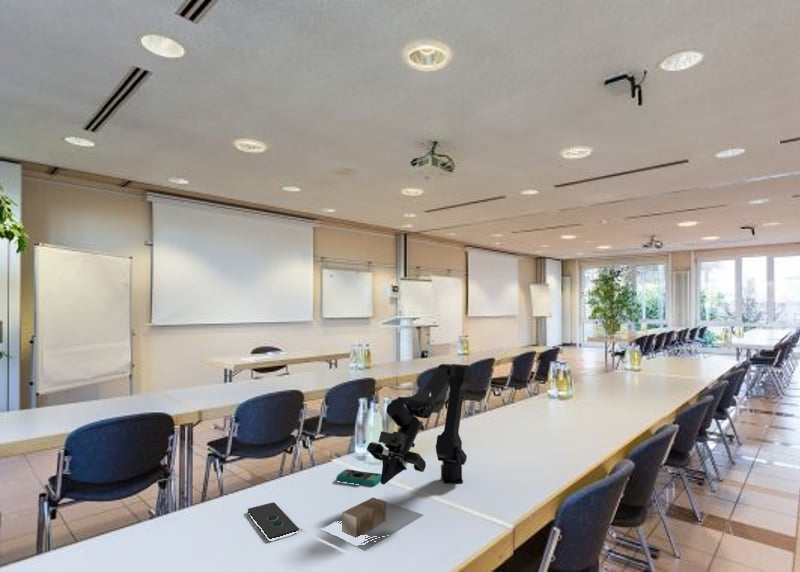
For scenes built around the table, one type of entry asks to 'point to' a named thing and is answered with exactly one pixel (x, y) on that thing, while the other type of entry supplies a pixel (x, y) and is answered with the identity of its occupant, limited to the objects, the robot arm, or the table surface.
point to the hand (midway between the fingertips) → (382, 483)
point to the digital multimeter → (359, 477)
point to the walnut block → (363, 517)
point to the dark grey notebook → (272, 520)
